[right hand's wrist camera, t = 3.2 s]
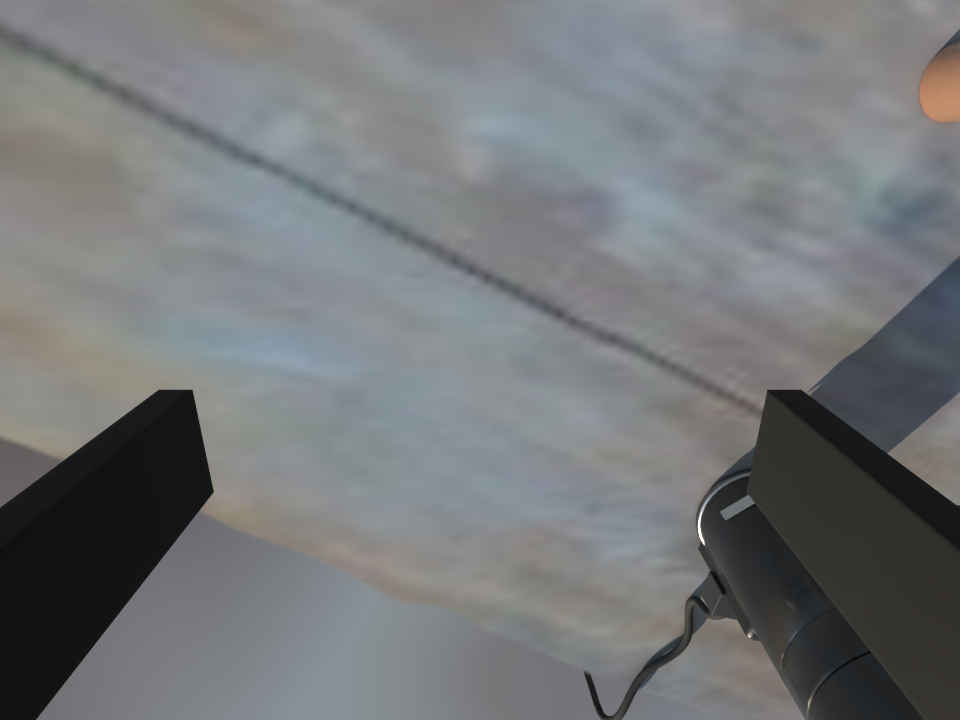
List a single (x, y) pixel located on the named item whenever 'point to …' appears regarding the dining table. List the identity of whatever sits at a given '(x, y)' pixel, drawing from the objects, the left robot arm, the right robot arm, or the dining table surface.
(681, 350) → the dining table surface
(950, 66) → the jar
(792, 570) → the left robot arm
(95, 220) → the dining table surface
